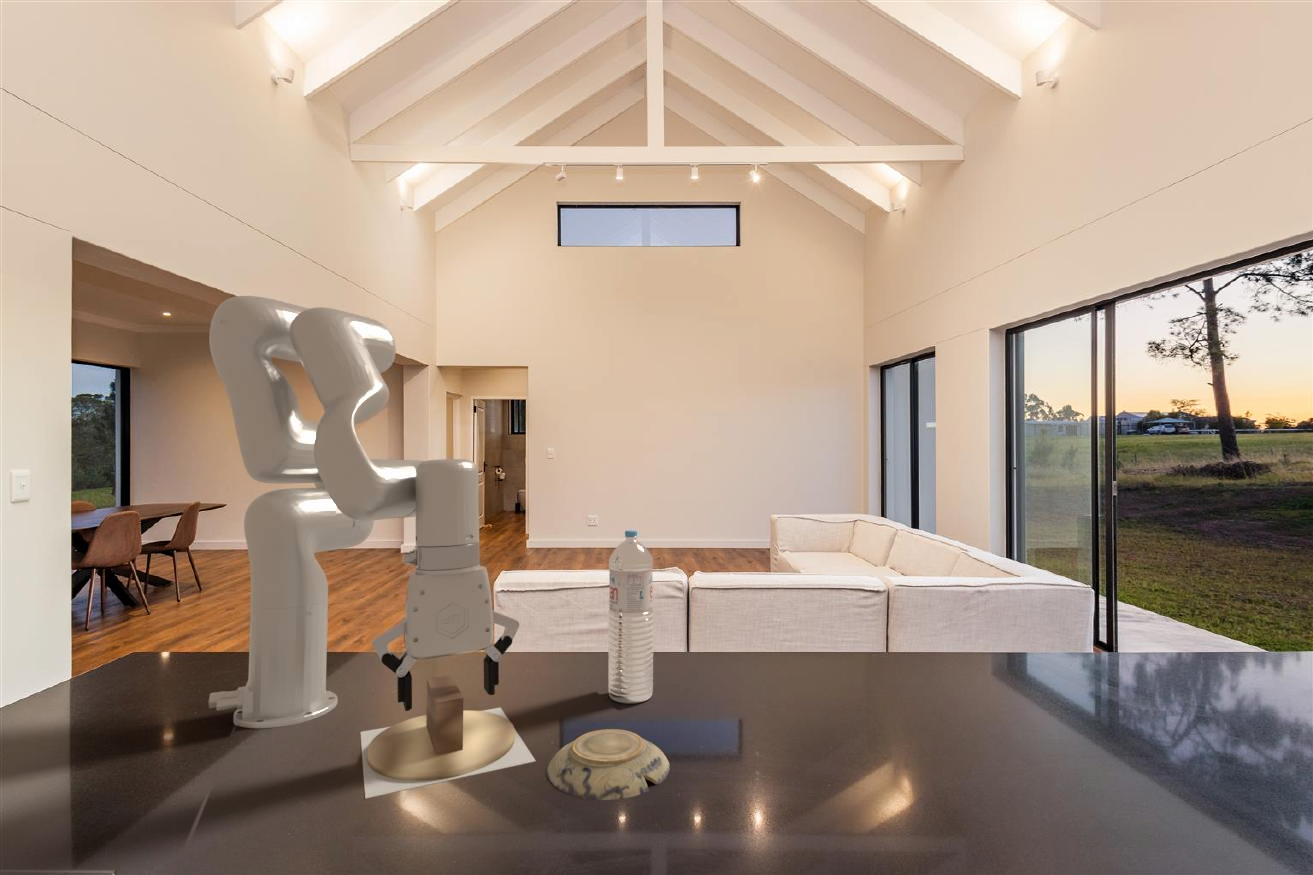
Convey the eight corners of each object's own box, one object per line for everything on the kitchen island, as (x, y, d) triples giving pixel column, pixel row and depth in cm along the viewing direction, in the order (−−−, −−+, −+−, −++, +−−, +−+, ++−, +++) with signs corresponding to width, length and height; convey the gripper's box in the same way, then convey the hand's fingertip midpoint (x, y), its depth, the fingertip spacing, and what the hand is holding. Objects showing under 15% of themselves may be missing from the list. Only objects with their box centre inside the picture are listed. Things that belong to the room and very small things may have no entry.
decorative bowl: (582, 738, 81) (514, 793, 67) (583, 709, 81) (515, 758, 67) (691, 761, 75) (641, 826, 61) (691, 729, 75) (642, 787, 61)
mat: (365, 803, 64) (365, 798, 64) (360, 736, 80) (360, 731, 80) (535, 765, 72) (535, 760, 72) (500, 711, 88) (500, 707, 88)
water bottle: (647, 706, 90) (648, 533, 91) (602, 703, 91) (603, 532, 93) (657, 690, 97) (657, 529, 98) (614, 686, 98) (615, 528, 99)
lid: (370, 794, 65) (371, 726, 65) (364, 732, 80) (366, 677, 80) (530, 760, 72) (531, 699, 73) (497, 709, 88) (498, 659, 88)
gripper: (373, 568, 70) (373, 724, 69) (524, 555, 78) (527, 695, 77) (370, 561, 77) (370, 703, 76) (510, 550, 84) (512, 678, 83)
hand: (449, 699), depth 76 cm, fingers open, 9 cm apart
